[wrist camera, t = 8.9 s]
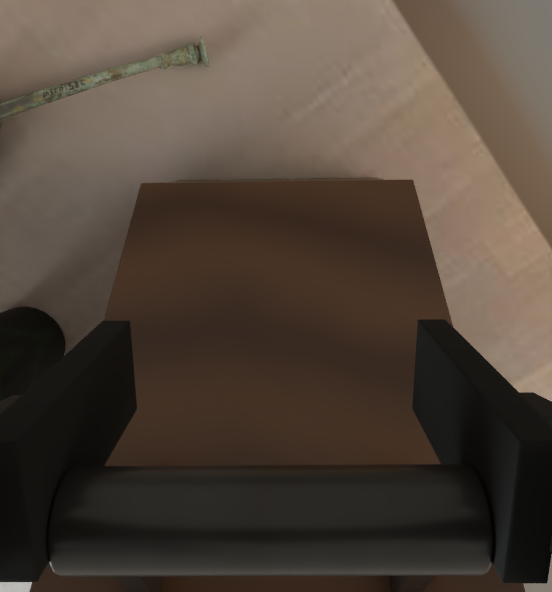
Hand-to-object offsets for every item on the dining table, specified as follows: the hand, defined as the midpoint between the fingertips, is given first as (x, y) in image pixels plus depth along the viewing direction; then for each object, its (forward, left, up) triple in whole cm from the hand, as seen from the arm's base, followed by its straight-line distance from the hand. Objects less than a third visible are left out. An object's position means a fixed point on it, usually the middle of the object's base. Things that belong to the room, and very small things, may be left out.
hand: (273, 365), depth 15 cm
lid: (0, -2, -5) cm, 5 cm away
